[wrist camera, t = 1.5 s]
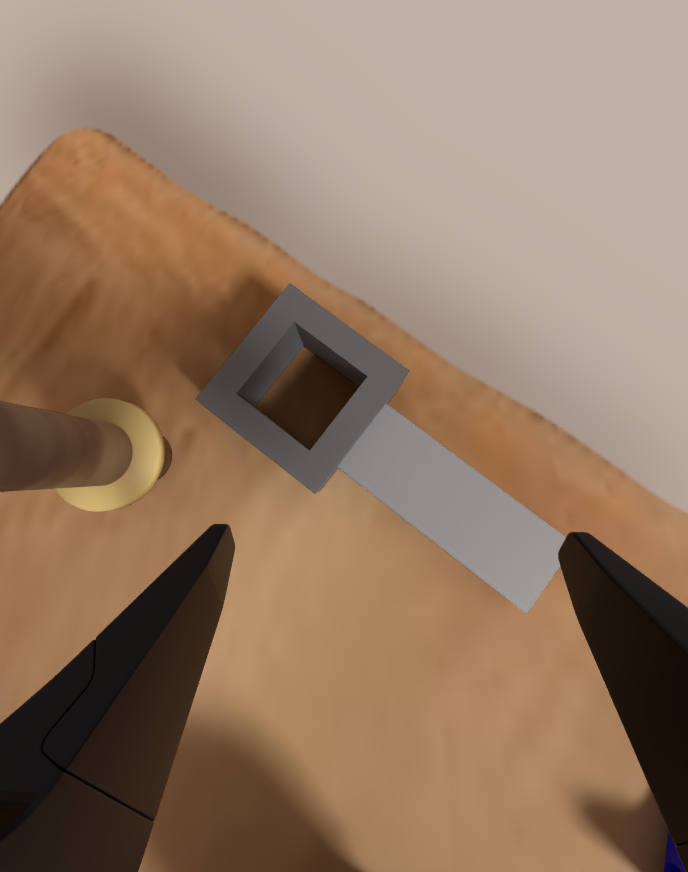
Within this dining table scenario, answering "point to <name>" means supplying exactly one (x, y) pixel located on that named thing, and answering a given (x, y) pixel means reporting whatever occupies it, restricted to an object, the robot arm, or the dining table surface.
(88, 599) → the dining table surface
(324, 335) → the hitch block
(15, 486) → the walnut pin
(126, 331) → the dining table surface
